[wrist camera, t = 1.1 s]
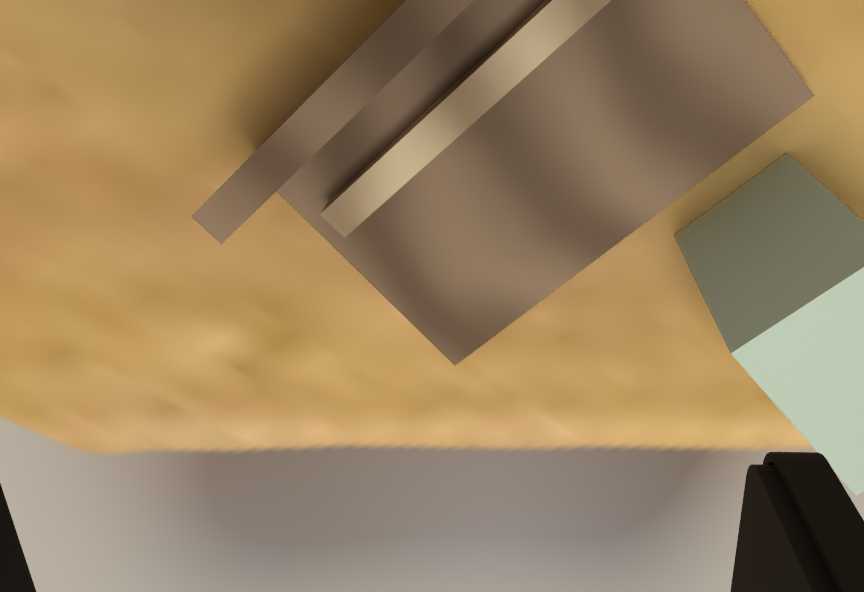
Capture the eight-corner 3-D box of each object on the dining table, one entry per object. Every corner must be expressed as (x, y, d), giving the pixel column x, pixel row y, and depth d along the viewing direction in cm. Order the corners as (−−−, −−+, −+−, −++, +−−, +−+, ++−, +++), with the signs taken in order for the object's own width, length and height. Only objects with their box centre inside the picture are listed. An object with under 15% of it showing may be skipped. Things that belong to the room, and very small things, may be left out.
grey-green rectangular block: (787, 152, 35) (892, 248, 26) (892, 288, 38) (1026, 424, 28) (673, 235, 38) (731, 353, 28) (780, 359, 40) (867, 508, 30)
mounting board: (596, -189, 30) (624, -220, 23) (802, 87, 34) (885, 140, 26) (256, 153, 38) (191, 216, 30) (456, 350, 41) (443, 451, 34)
